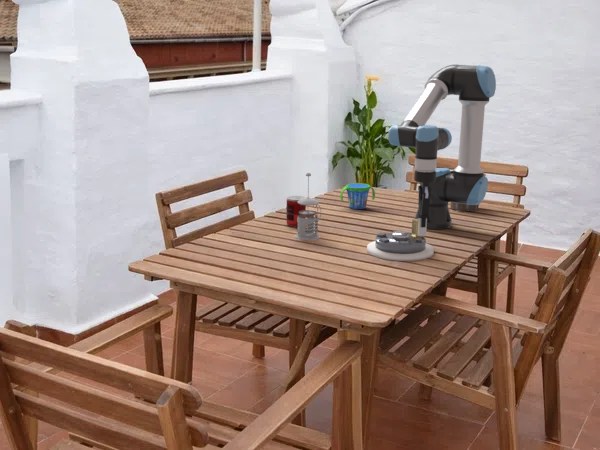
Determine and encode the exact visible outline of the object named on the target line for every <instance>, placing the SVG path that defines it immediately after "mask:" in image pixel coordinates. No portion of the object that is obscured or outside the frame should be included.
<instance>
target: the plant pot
mask: <svg viewBox="0 0 600 450" xmlns="http://www.w3.org/2000/svg"><path fill="white" fill-rule="evenodd" d="M450 171H451V172H450V173H454V169H453V170H450ZM483 176H485V177H487V175H486V173H485V172H484V173H483ZM479 206H480V204H478V205H467V204H461V203H453V202H450V208H451V209H452V210H454V211H458V212H467V211H468V212H476V211H478V210H479V208H480V207H479Z"/></svg>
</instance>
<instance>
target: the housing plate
mask: <svg viewBox="0 0 600 450" xmlns="http://www.w3.org/2000/svg"><path fill="white" fill-rule="evenodd" d="M375 243H376V240H374V241H370V242H369V243H368V244H367V245H366V252H367V253H368V254H369V255H371V256H372V257H375V258H378V259H383V260H388V261H396V262H397V261H398V262H411V261H413V262H414V261H421V260H422V261H423V260H426V259H429V258H431V257H433V256H434V255H435V253H434V252H435V251H434V247H433V246H432V245H430V244H429V243H426V247H425V250H423V251H421V252H417V253H408V254H400V253H390V252H385V251H382V250H379V249H377V248H376V246H375Z"/></svg>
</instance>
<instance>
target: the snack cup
mask: <svg viewBox="0 0 600 450" xmlns="http://www.w3.org/2000/svg"><path fill="white" fill-rule="evenodd" d="M370 189H371V190H372V193H371V194H372V196H371V199H372V201H373V200H375V197H376V192H375V189H374V188H373V186H371V185H370V184H368V183H360V182H354V183H348V184H346V185H345V187H343V188H342V190H341V191H340V196H339V198H340V200H341V202H344V196H343V193H344V192H345V190H346V193H347V201H348V208H350V209H352V210H365V208H367V202H368V198H369V193H370Z"/></svg>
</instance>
